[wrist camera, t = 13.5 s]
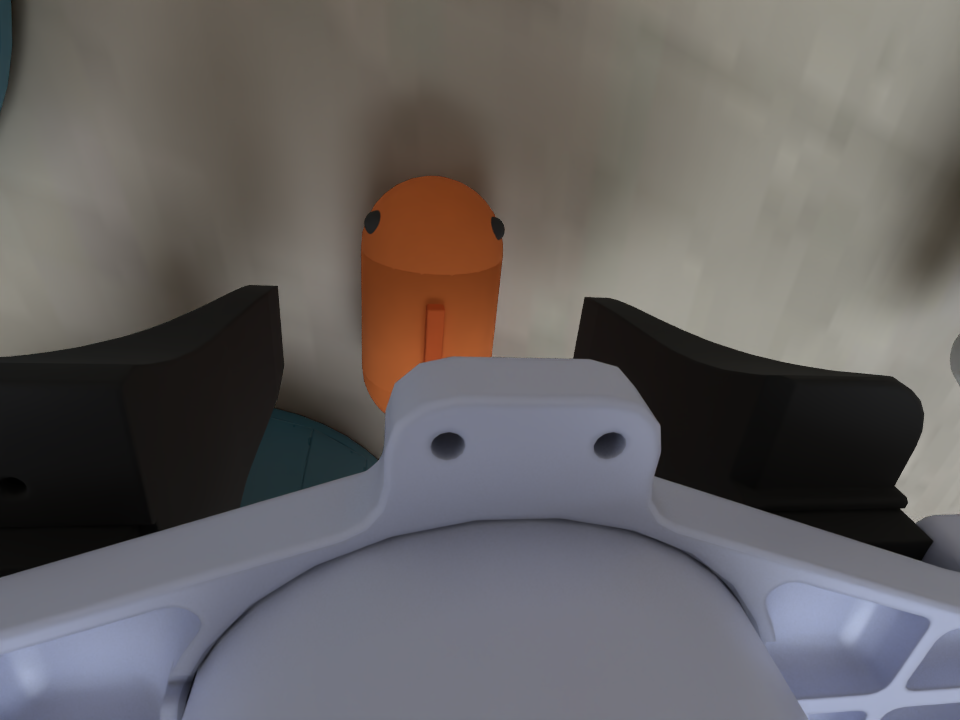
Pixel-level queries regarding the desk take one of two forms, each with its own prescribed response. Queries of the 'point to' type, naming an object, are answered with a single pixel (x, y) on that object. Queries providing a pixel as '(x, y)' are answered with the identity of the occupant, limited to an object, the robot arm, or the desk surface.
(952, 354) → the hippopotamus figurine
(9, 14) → the lid
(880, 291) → the desk surface
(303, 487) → the pan
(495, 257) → the fish
